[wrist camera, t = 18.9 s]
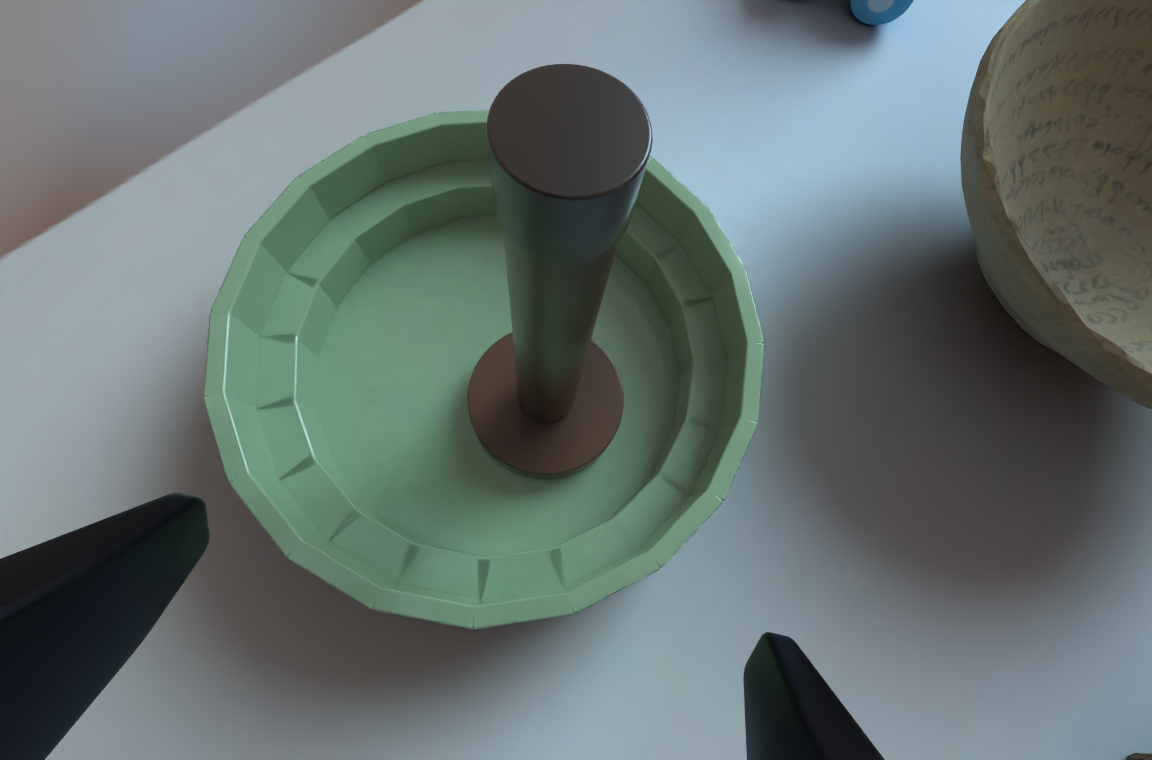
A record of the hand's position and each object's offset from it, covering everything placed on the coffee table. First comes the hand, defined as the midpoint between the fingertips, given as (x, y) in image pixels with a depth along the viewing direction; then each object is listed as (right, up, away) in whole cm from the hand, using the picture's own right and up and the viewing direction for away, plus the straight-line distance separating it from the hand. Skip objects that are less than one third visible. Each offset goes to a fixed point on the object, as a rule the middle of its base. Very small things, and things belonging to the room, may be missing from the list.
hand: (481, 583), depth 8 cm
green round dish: (-1, +4, +13) cm, 13 cm away
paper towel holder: (0, +2, +12) cm, 12 cm away
